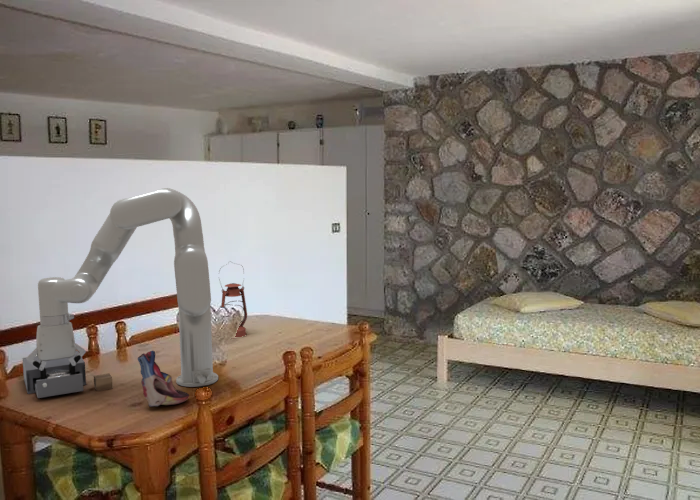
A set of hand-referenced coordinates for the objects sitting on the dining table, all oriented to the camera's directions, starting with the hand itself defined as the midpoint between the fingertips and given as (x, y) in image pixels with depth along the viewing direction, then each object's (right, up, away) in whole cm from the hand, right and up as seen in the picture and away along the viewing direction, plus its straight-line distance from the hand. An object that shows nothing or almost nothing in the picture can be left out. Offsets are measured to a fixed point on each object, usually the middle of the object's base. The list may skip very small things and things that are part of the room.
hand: (58, 379), depth 188 cm
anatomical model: (+34, -5, -11) cm, 36 cm away
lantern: (+39, +4, +68) cm, 79 cm away
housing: (-6, -3, +11) cm, 13 cm away
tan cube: (+11, -3, +5) cm, 13 cm away
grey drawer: (-1, -3, +2) cm, 4 cm away
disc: (0, 0, 0) cm, 0 cm away
